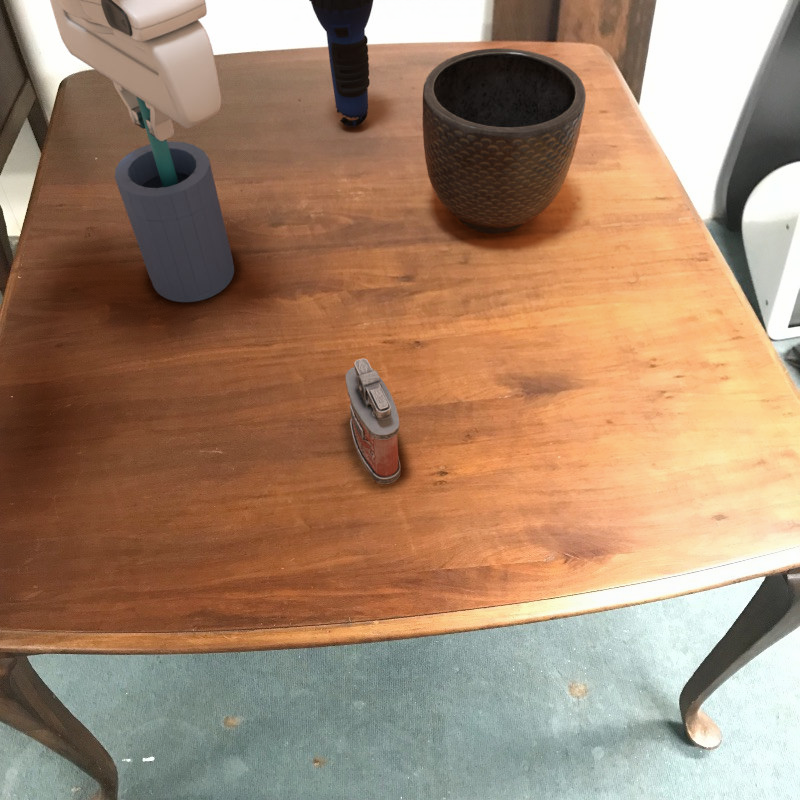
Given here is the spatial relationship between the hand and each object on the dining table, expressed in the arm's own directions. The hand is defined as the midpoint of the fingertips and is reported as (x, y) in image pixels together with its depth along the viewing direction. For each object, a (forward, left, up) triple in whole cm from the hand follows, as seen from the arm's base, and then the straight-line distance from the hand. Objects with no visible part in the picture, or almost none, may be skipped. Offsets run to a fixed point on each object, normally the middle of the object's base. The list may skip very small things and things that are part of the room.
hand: (154, 130), depth 73 cm
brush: (0, 0, -16) cm, 16 cm away
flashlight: (+22, +27, -19) cm, 39 cm away
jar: (0, +1, -18) cm, 18 cm away
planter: (+36, +5, -19) cm, 40 cm away
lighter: (+16, -27, -19) cm, 37 cm away
